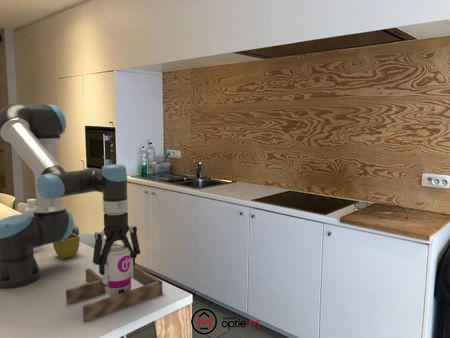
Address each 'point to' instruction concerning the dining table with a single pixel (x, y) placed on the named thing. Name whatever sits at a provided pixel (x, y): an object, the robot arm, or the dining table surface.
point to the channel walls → (117, 301)
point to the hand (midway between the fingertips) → (118, 279)
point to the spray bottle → (29, 211)
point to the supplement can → (118, 270)
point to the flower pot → (67, 246)
